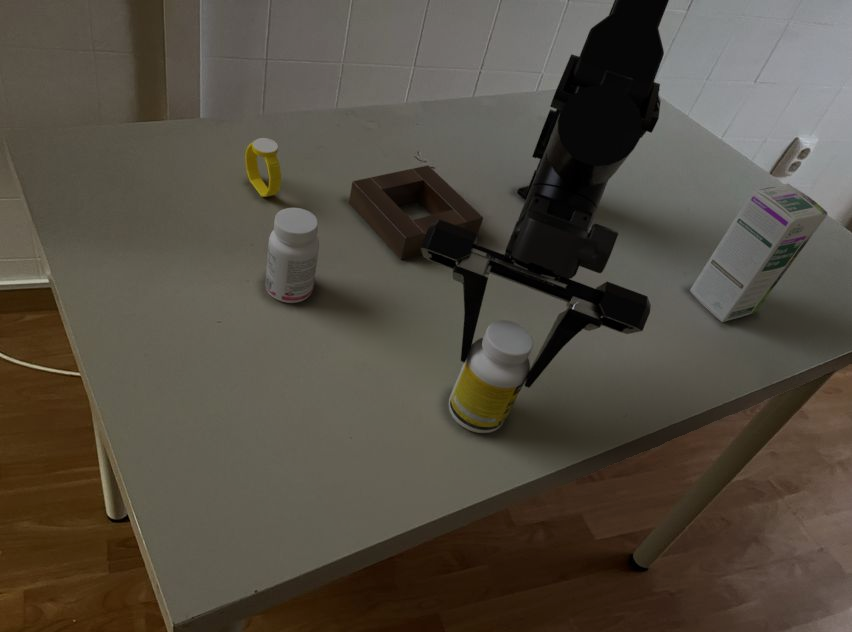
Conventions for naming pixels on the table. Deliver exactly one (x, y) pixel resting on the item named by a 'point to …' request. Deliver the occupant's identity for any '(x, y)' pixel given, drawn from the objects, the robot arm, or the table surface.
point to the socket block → (420, 184)
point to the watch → (268, 151)
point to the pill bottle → (292, 255)
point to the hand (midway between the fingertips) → (494, 374)
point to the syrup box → (757, 251)
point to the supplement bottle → (491, 377)
